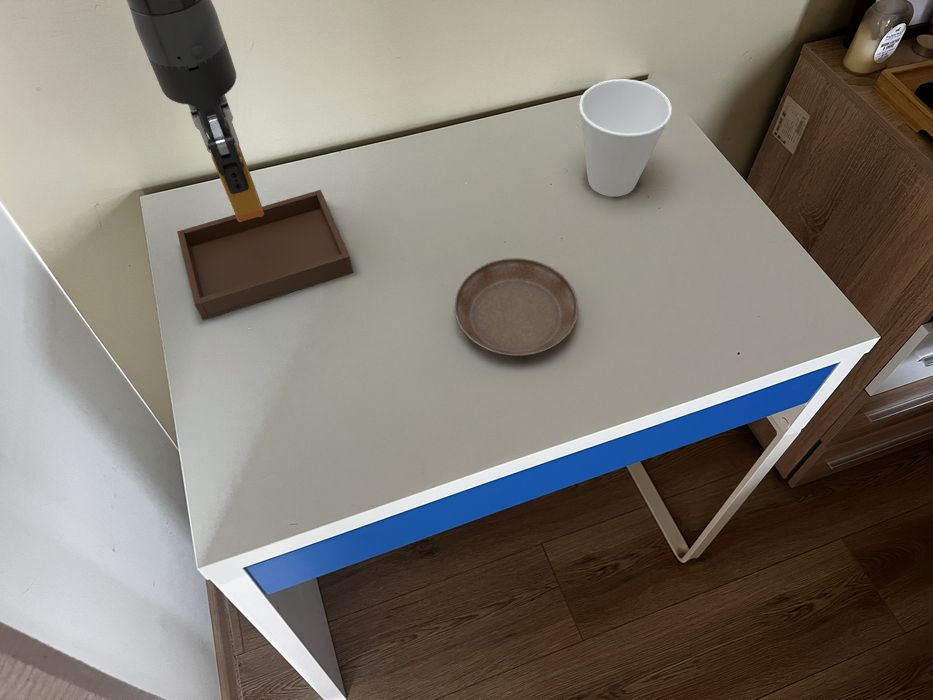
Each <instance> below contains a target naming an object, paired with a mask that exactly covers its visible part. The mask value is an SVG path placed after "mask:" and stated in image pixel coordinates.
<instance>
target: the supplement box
mask: <svg viewBox="0 0 933 700" xmlns="http://www.w3.org/2000/svg"><path fill="white" fill-rule="evenodd" d="M236 149H237V152H238V154H239V157H241V159H242V162H243V165H244V167H243V169H244V170H243V171H244V174H245V176H246V179H247V182H248V185H249V189H248V190H247V191H243V192H240V193H236V194H232V193H231V192H230V190H229V188H228V185H227V183H226V180H225V178H224V176H222V175H221V173H219V171H218V167H217V164H216V162H215V159H214V157H213V155H212V153H210V156H211V160H212V162H213V164H214V167H215V169H216V172H217V173H218V176H219V179H220V181H221V183H222V186H223V189H224V190H225V193H226V195H227V198H228V200H229V203H230V206H231V208H232V211H233V213H234V215H236V218H237V220H238V221H239V222H242V221H245V220H249V219H252V218H256V217H261V216H264V212H263V209H262V207H263V205H262V203H261V199H260V196H259V194H258V191H257V188H256V186H255V183H254V180H253V178H252V176H251V173H250V170H249V167H248V164H247V161H246V159H245V157H244V154H243V151H242V148H241V146H240V144H239V145H238V146H237V148H236Z"/></svg>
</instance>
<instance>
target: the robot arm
mask: <svg viewBox="0 0 933 700" xmlns="http://www.w3.org/2000/svg"><path fill="white" fill-rule="evenodd" d="M126 3H127V5H128V8H129V10H130V15H131V17H132V21H133V24H134V28H135V31H136V33H137V36H138V39H139V40H140V42H141V45H142V47H143V50H144V51H145V54H146V57H147V59H148V61H149V63H150V66H151V68H152V70H153V73H154V75H155V77H156V80H157V82H158V85H159V87H160V90H161V92H162V93H163V95H164V96H165V97H166V98H167V99H169V100H171V101H172V102H174V103H177V104H182V105H187V106H188V109H189V113H190V116H191V119H192V121H193V124H194V127H195V128H196V129H197V130H199V132H200V135H201V139H202V140H203V143H204V145H205V148H206V150H207V152H208V153H209V154H211V153H212V155H213V157H214V159H215V162H216V164H217V167H218V171H219V173H221V175H222V176H224V178H225V180H226V183H227V185H228V188H229V190H230V192H231V193H232V194H236V193H240V192H243V191H247V190H248V189H249V185H248V182H247V179H246V176H245V174H244V171H243V170H244V169H243V167H244V165H243V162H242V159H241V157H239V154H238V152H237V149H236V148H237V146H238V145H239V146H240V141H239V138H238V135H237V133H236V129H235V126H234V123H233V120H234V117H233V114H232V111H231V108H230V105H229V103H228V99H227V97H226V95H227V93H229V92H230V91H231V90H232V88H233V87H234V86H235V84H236V81H237V71H236V68H235V65H234V61H233V59H232V56H231V52H230V49H229V47H228V43H227V41H226V37H225V34H224V30H223V28H222V25H221V21H220V19H219V15H218V13H217V10H216V7H215V4H213V1H212V0H126Z"/></svg>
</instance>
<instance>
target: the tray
mask: <svg viewBox="0 0 933 700" xmlns="http://www.w3.org/2000/svg"><path fill="white" fill-rule="evenodd" d="M262 209H263V212H264V216H261V217H256V218H252V219H249V220H245V221H242V222H239V221H238V220H237V218H236V215H235V214H232V215H228V216H226V217H222V218H218V219H214V220H211V221H208V222H205V223H202V224H198V225H194V226H191V227H187V228H184V229H180V230H177V231H176V233H177V237H178V240H179V245H180V249H181V254H182V258H183V262H184V266H185V270H186V274H187V278H188V283H189V287H190V291H191V296H192V299H193V304H194V306H195V308H196V310H197V312H198V313H199V315H200V317H201V319H202V321H205V320H208V319H211V318H215V317H218V316H221V315H224V314H227V313H230V312H234V311H236V310H241V309H243V308H247V307H249V306H252V305H255V304H259V303H262V302H265V301H268V300H271V299H274V298H278V297H280V296H283V295H287V294H289V293H293V292H296V291H300V290H303V289H305V288H309V287H313V286H315V285H319V284H322V283H324V282H329V281H331V280H333V279H337V278H340V277H343V276H347V275H350V274H352V273H354V270H353V265H352V261H351V257H350V254H349V252H348V250H347V247H346V245H345V243H344V240H343V238H342V235H341V233H340V231H339V229H338V226H337V224H336V222H335V220H334V217H333V215H332V212H331V210H330V208H329V206H328V204H327V201H326V199H325V196H324V193H323V192H322V189H318V190H315V191H311V192H307V193H305V194H300V195H298V196H294V197H291V198H287V199H284V200H281V201H277V202H273V203H270V204H266V205H262Z"/></svg>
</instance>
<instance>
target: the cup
mask: <svg viewBox="0 0 933 700" xmlns="http://www.w3.org/2000/svg"><path fill="white" fill-rule="evenodd" d="M578 109H579V114H580V120H581V130H582V131H581V132H582V138H583V139H582V140H583V149H584V157H585V165H586V166H585V167H586V173H587V174H586V175H587V181H588V184H589V187H590V188H591V189H592V190H593V191H594V192H596V193H598V194H599V195H602V196H605V197H610V198H611V197H612V198H614V197H622V196H626V195H628V194H630V193H631V192H632V191H633V190H634V189H635V188H636V186H637V183H638V182H639V180H640V177H641V176H642V174H643V172H644V170H645V168H646V165H647V164H648V162H649V160H650V158H651V157H652V154H653V152H654V150H655V148H656V146H657V144H658V142H659V140H660V138H661V136H662V134H663V132H664V130H665V128H666V127H667V125H668V123H669V121H670V119H671V118H672V114H673V107H672V104H671V100H670V99H669V98H668V97H667V95H666V94H665V93H664V92H663V91H662V90H660V89H659V88H658V87H656V86H654V85H652V84H649V83H647V82H644V81H640V80H636V79H629V78H628V79H627V78H614V79H608V80H604V81H600V82H598V83H595V84H593V85H591V86H590V87H589V88H587V89H586V90H585V91H584V92H583V94H582V95H581V97H580V98H579V102H578Z"/></svg>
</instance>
